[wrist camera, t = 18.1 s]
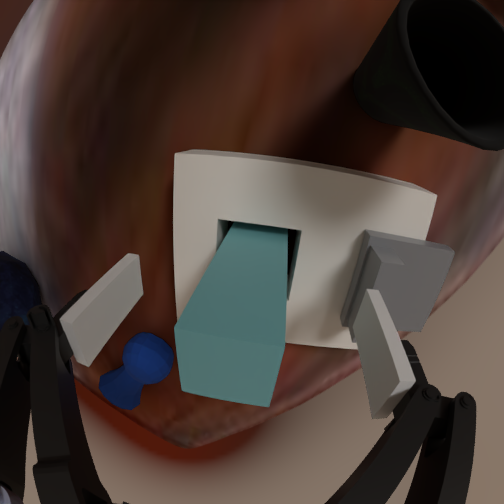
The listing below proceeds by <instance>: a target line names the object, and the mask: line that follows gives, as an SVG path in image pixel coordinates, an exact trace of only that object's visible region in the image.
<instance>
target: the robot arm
mask: <svg viewBox="0 0 504 504" xmlns="http://www.w3.org/2000/svg"><path fill="white" fill-rule="evenodd" d="M142 295H143V287H142V279H141V270H140V261H139V255H136V254H130V253H128V254H127V255H126V256H124V257H123V258H122V259H121V260H120V261H119V262H118V263H117V264H116V265H114V266H113V267H112V268H111V269H110V270H109V271H108V272H107V273H106V274H105V275H104V276H103V277H101V278H100V279H99V280H98V281H97V282H96V283H95V284H94V285H93V286H92V287H91V288H90V289H89V290H84V291H82V292H80V293H78V294H77V295H76V296H75V297H74V298H72V300H70V301H69V302H68V303H67V305H65V306H64V307H63V308H62V309H61V310H60V311H59V312H58V313H57V314H56V315H55V316H54V317H52V314H51V312H50V309H49V307H48V306H46V305H37V306H34V307H33V308H31V309H30V310H29V311H28V313H27V315H26V316H27V318H28V321H29V323H30V325H25V324H24V321H23V319H22V318H21V317H20V316H13V317H10V318H9V319H8V320H6V322H5V323H4V325H3V327H2V329H1V331H0V504H23V497H24V489H25V463H26V446H27V435H28V426H29V419H30V411H31V413H32V423H33V433H34V440H35V447H36V453H37V459H38V462H37V463H36V464H35V465H33V476H34V480H35V484H36V488H37V492H38V496H39V499H40V503H41V504H114V503H112V501H111V499H110V497H109V495H108V493H107V491H106V490H105V488H104V487H103V485H102V484H101V482H100V480H99V477H98V475H97V472H96V469H95V466H94V463H93V459H92V456H91V453H90V450H89V446H88V443H87V439H86V435H85V432H84V427H83V424H82V419H81V415H80V410H79V405H78V400H77V394H76V388H75V383H74V375H73V368H72V362H71V359H70V358H71V356H72V355H73V354H74V356H75V358H76V360H77V362H78V363H81V364H83V365H85V366H87V367H89V366H90V365H91V363H92V362H93V360H94V359H95V358H96V356H97V355H98V353H99V352H100V351H101V349H102V348H103V346H104V345H105V344H106V342H107V341H108V340H109V338H110V337H111V336H112V334H113V333H114V331H115V330H116V329H117V327H118V326H119V325H120V324H121V322H122V321H123V320H124V318H125V317H126V316H127V314H128V313H129V312H130V310H131V309H132V308H133V307H134V305H135V304H136V303H137V301H138V300H139V299H140V298H141V296H142ZM353 330H354V334H355V338H356V343H357V347H358V351H359V355H360V360H361V364H362V369H363V374H364V379H365V383H366V388H367V393H368V399H369V404H370V410H371V416H372V419H379V418H387V417H388V416H389V415H390V414H391V412H392V411H393V414H394V419H393V420H392V421H391V422H390V423H389V424H388V425H387V426H386V427H385V429H384V430H385V431H384V433H383V434H382V436H381V437H380V438H379V440H378V441H377V443H376V444H375V445H374V447H373V448H372V450H371V451H370V452H369V453H368V455H367V456H366V457H365V459H364V460H363V461H362V463H361V464H360V465H359V466H358V467H357V469H356V470H355V471H354V472H353V473H352V475H351V476H350V477H349V478H348V479H347V480H346V482H345V483H344V484H343V485H342V486H341V487H340V488H339V489H338V490H337V491H336V493H335V494H334V495H333V496H332V497H331V498H330V499H329V500H328V501H327V502H326V503H325V504H385V503H386V502H387V501H388V499H389V498H390V496H391V495H392V493H393V492H394V491H395V489H396V487H397V486H398V484H399V483H400V481H401V480H402V478H403V477H404V475H405V473H406V472H407V470H408V468H409V467H410V465H411V463H412V461H413V460H414V458H415V456H416V454H417V452H418V450H419V449H420V447H421V445H422V448H421V452H420V456H419V460H418V463H417V467H416V470H415V474H414V477H413V480H412V483H411V486H410V489H409V492H408V495H407V498H406V500H405V503H404V504H465V502H466V497H467V493H468V488H469V483H470V477H471V471H472V470H471V469H472V464H473V456H474V446H475V445H474V444H475V432H476V431H475V430H476V402H475V400H474V398H473V397H472V396H471V395H470V394H468V393H467V392H460V393H458V394H457V396H456V397H455V398H449V397H444V396H441V393H440V392H439V390H438V389H437V388H436V387H434V386H433V385H430V384H428V382H427V379H426V377H425V374H424V371H423V369H422V366H421V364H420V363H419V359H418V357H417V354H416V351H415V349H414V347H413V346H412V345H411V344H410V343H409V341H407V340H400V338H399V335H398V333H397V330H396V328H395V326H394V323H393V321H392V319H391V316H390V314H389V312H388V310H387V307H386V305H385V303H384V301H383V299H382V296H381V294H380V292H379V290H373V289H366V292H365V295H364V297H363V300H362V303H361V306H360V308H359V311H358V314H357V316H356V319H355V322H354V324H353ZM17 356H18V360H17ZM422 443H423V444H422ZM123 504H129V503H126V502H123Z"/></svg>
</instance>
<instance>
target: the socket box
mask: <svg viewBox="0 0 504 504" xmlns="http://www.w3.org/2000/svg"><path fill="white" fill-rule="evenodd" d="M436 198H437V195H436V194H434V193H432V192H430V191H428V190H426V189H424V188H422V187H419V186H417V185H415V184H412V183H409V182H405V181H401V180H397V179H393V178H389V177H385V176H381V175H376V174H372V173H368V172H363V171H358V170H353V169H348V168H343V167H338V166H333V165H327V164H322V163H316V162H310V161H303V160H297V159H290V158H282V157H275V156H267V155H258V154H248V153H238V152H226V151H213V150H196V149H194V150H189V151H184V152H179V153H175V161H174V192H173V244H174V275H175V295H176V310H177V321H178V320H179V318H180V316H181V314H182V312H183V310H184V309H185V307H186V305H187V303H188V301H189V300H190V298H191V296H192V294H193V292H194V291H195V289H196V287H197V285H198V284H199V282H200V280H201V278H202V276H203V275H204V273H205V271H206V269H207V268H208V266H209V264H210V262H211V261H212V259H213V257H214V255H215V254H216V252H217V250H218V249H219V247H220V245H221V243H222V242H223V240H224V238H225V236H226V235H227V233H228V220H230V221H238V222H245V223H253V224H260V225H268V226H275V227H282V228H289V229H296V230H297V232H296V238H295V244H294V250H293V255H292V261H291V266H290V272H289V275H287V305H286V334H285V343H293V344H302V345H311V346H321V347H333V348H346V349H358V347H357V343H352V340H351V336H350V331H349V327H342V324H341V320H340V315H341V312H342V309H343V306H344V303H345V300H346V297H347V293H348V290H349V287H350V284H351V280H352V277H353V274H354V270H355V267H356V263H357V260H358V256H359V252H360V249H361V245H362V241H363V237H364V233H365V229H366V230H372V231H378V232H383V233H388V234H394V235H399V236H404V237H409V238H414V239H419V240H424V241H425V239H426V236H427V233H428V229H429V226H430V222H431V218H432V214H433V211H434V207H435V202H436Z"/></svg>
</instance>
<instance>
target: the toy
mask: <svg viewBox="0 0 504 504" xmlns="http://www.w3.org/2000/svg"><path fill="white" fill-rule="evenodd" d="M122 360H123V363H124V365H123V366H121V367H120V368H118V369H115V370H112V371H109V372H107V373H105V374H104V375H102V376H100V382H99V389H100V391H101V392H102V394H103V395H104V397H105V398H106V399H108V400H109V401H110V402H111V403H112V404H114V405H116V406H118V407H120V408H122V409H128V410H132V409H134V408H135V407H136V406H138V405H139V404H140V396H141V390H142V388H143V385H144V384H154V383H158V382H160V381H162V380H163V379H164V378H165V377H167V376H168V374H169V373H170V371H171V368H172V365H173V360H174V353H173V351H172V348H171V347H170V346H169V345H168V344H167V343H166V342H165V341H164V340H162V339H160V338H159V337H157V336H155V335H153V334H151V333H145V332H142V333H138V334H137V335H135V336H134V337H133V338H132V339H130V340H129V341H128V343H127V344H126V345H125V347H124V350H123V357H122Z"/></svg>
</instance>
